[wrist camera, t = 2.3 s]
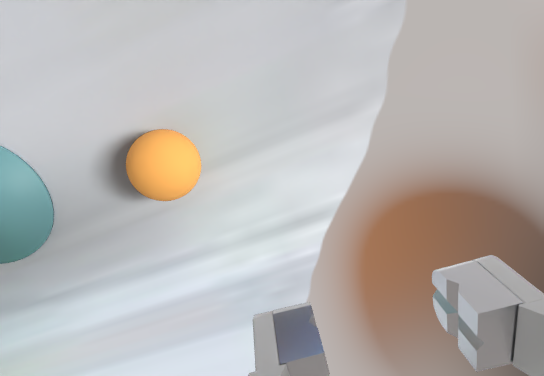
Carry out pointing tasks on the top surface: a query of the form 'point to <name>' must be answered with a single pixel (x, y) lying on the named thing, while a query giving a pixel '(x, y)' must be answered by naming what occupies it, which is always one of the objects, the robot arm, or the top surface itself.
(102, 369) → the top surface
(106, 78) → the top surface
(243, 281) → the top surface
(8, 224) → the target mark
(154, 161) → the ball
